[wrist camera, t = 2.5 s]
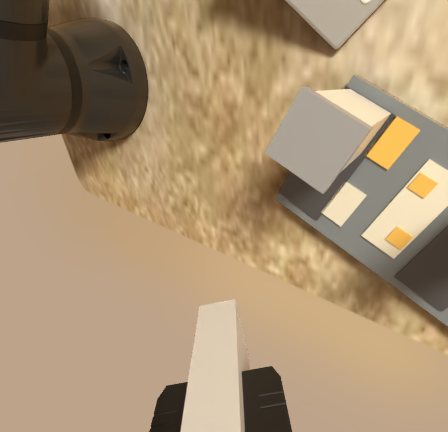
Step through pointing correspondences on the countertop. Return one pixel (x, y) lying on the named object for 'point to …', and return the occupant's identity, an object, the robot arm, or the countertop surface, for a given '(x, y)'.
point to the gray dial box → (335, 17)
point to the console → (389, 202)
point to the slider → (325, 134)
